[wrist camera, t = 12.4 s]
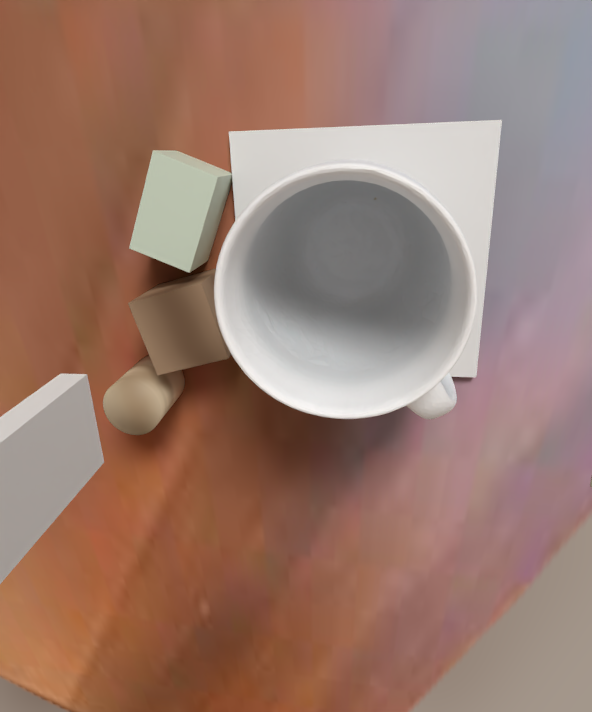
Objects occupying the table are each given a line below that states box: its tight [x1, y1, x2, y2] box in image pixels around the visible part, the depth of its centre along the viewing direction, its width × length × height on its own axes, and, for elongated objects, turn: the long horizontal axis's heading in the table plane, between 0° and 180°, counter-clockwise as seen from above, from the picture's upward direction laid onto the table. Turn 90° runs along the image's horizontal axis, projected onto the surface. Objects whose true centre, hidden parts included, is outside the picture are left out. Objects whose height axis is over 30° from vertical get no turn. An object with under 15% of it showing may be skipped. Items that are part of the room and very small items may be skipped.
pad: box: [229, 120, 502, 377], centre depth 34 cm, size 16×16×1 cm
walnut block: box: [128, 268, 231, 375], centre depth 35 cm, size 5×5×5 cm
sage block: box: [129, 150, 232, 273], centre depth 33 cm, size 4×6×4 cm, turn 159°
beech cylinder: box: [103, 355, 185, 435], centre depth 37 cm, size 4×4×5 cm
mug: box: [214, 159, 478, 419], centre depth 28 cm, size 15×11×13 cm
